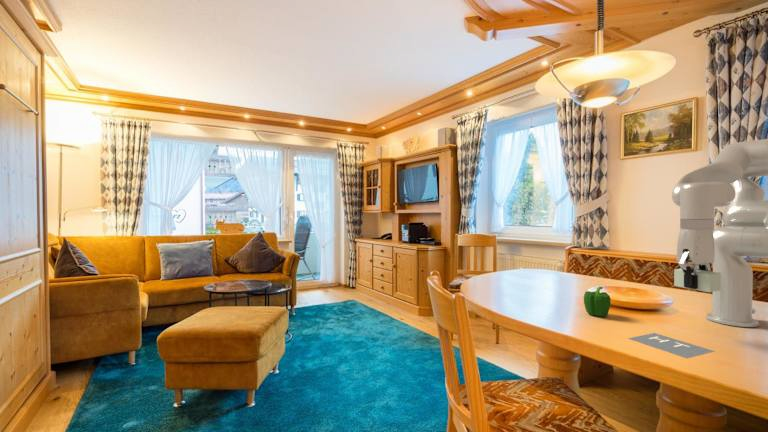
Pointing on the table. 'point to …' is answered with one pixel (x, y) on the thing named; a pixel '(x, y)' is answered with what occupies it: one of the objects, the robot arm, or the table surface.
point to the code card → (671, 345)
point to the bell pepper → (597, 303)
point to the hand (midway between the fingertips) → (696, 286)
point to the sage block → (700, 280)
